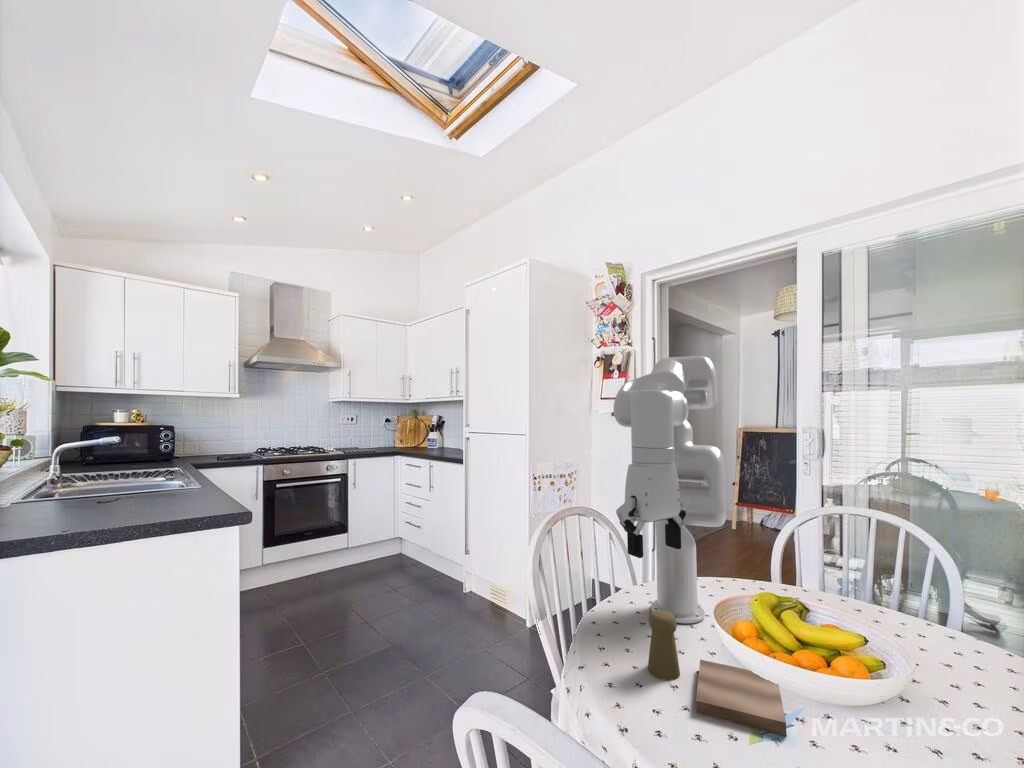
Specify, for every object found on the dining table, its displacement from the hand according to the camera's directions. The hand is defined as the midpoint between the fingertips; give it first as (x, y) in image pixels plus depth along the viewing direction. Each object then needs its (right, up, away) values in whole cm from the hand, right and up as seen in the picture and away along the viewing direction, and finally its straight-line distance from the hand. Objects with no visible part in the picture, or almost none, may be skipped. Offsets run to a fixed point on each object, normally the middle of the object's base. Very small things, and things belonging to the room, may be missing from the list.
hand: (654, 551), depth 83 cm
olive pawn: (+3, -26, +6) cm, 26 cm away
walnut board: (+14, -25, -3) cm, 28 cm away
